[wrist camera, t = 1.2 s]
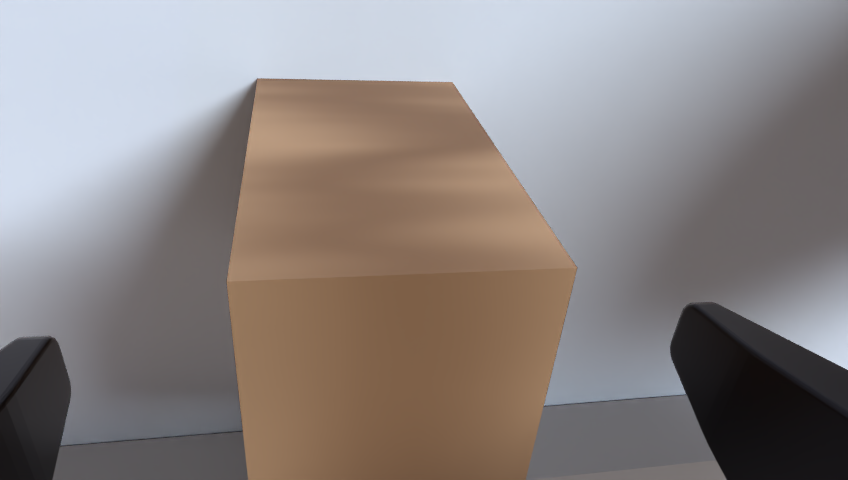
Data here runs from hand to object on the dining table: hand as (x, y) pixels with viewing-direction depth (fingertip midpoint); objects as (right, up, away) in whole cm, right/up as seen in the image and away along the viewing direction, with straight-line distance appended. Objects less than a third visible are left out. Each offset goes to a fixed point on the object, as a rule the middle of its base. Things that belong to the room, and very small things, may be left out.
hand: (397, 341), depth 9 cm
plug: (-1, +3, +5) cm, 6 cm away
